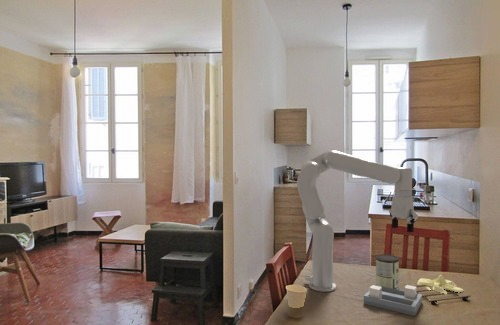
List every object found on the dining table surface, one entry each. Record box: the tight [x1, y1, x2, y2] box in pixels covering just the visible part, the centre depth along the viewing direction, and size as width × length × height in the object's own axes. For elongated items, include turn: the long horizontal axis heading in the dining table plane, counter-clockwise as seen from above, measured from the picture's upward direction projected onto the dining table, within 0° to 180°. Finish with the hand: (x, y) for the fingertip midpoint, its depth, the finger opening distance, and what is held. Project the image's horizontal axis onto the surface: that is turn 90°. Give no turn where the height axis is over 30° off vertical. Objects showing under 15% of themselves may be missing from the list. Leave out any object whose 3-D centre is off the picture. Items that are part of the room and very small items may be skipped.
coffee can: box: [375, 254, 400, 290], centre depth 171 cm, size 10×10×14 cm
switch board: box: [363, 284, 423, 317], centre depth 152 cm, size 20×15×4 cm
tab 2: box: [403, 284, 418, 298], centre depth 152 cm, size 4×4×5 cm
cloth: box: [417, 274, 465, 295], centre depth 170 cm, size 22×19×6 cm
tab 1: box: [368, 284, 382, 299], centre depth 152 cm, size 4×4×5 cm
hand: (402, 229), depth 169 cm, fingers open, 9 cm apart
